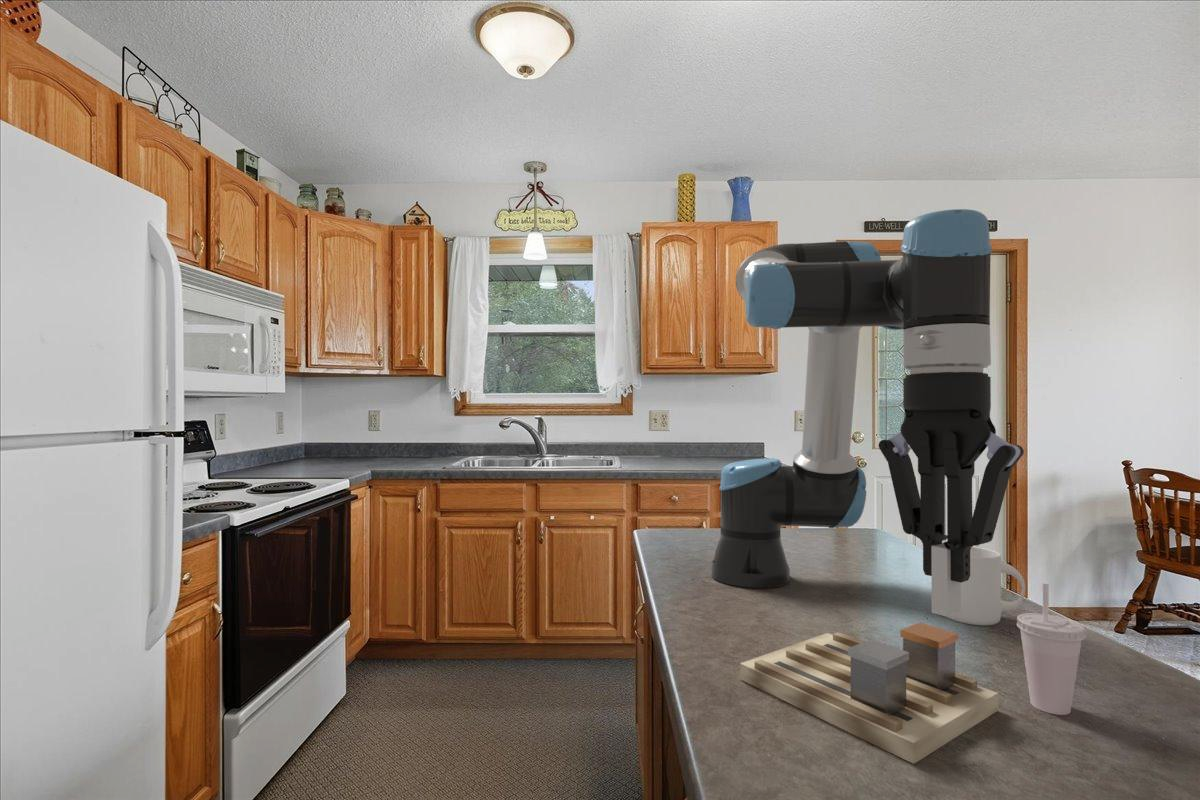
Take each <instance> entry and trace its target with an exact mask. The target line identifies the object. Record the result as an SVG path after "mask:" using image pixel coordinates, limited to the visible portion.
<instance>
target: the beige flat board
mask: <svg viewBox="0 0 1200 800" xmlns="http://www.w3.org/2000/svg"><path fill="white" fill-rule="evenodd" d="M863 642H866V641H865V640H862V639H858V638H856V637H854V636H850V635H848V634H844V633H841V632H835V633H833V634H831V633H828V632H826V633H823V634H821V635H817V636H813V637H811V638H809V639H806V640H803V641H800V642H797V643H793V644H791V645H789V646H785V647H783V648H780V649H777V650H774V651H772V652H768V653H766V654H763V655H760V656H757V657H754V658H751V659H748V660H746V661H743V662H740V663H739V680H741V681H742V682H744V683H747V684H749V685H751V686H753V687H755V688H757V689H758V690H762V691H763V692H765V693H767V694H769V695H771V696H774V697H775V698H777V699H779V700H781V701H784V702H786V703H788V704H790V705H792V706H794V707H796V708H798V709H800V710H802V711H804V712H806V713H808V714H809V715H810V714H811V715H812V716H815V717H817V718H818V719H821V720H823V721H825V722H827V723H829V724H830V725H832V726H835V727H837V728H839V729H841V730H844V731H845V732H848V733H849V734H851V735H854V736H856V737H857V738H859V739H862V740H864V741H866V742H868V743H869V744H872V745H874V746H877V747H879V748H880V749H883V750H884V751H886V752H888V753H891V754H893V755H894V756H897V757H899V758H901V759H903V760H905V761H907V762H909V763H911V764H912V765H913V764H917V762H919V761H922V759H924V758H926V757H927V756H928V755H930V754H932V753H933V752H935V751H937V750H939V749H940V748H942V747H943V746H944V745H946V744H948V743H949V742H951V741H952V740H954V739H955V738H957V737H959V736H960V735H963V734H964V733H965V732H967V731H968V730H970V729H972V728H973V727H974V726H976V725H978V724H979V723H981V722H982V721H984V720H985V719H987V718H989V717H991V716H992V715H993V714H995V713H997V712H999V692H996V691H993V690H991V689H988V688H985V687H983V686H980V685H978V680H977V679H975V678H972V677H969V676H966V675H963V674H960V673H958V672H955V684H954V685H952V686H950V687H948V688H946V689H944V690H939V689H936V688H934V687H931V686H928V685H926V684H923V683H920V682H918V681H915V680H912V679H910V678H907V677H906V707H905V708H903V709H901V710H899V711H897V712H895V713H893V714H891V715H888V714H885V713H883V712H881V711H878V710H876V709H874V708H871V707H869V706H867V705H865V704H862V703H860V702H858V701H855V700H853V699H851V657H850V656H848V648H850V647H853V646H855V645H858V644H860V643H863Z"/></svg>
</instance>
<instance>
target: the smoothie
mask: <svg viewBox="0 0 1200 800" xmlns="http://www.w3.org/2000/svg"><path fill="white" fill-rule="evenodd" d="M1049 586H1050V585H1049V584H1047V583H1042V613H1036V612H1029V613H1021V614H1018V615H1017V617H1016V627H1017V628H1018V629H1020V637H1021V644H1022V651H1023V660H1024V664H1025V672H1026V680H1027V688H1028V695H1029V699H1030V700H1029V701H1030V704H1031V706H1033V707H1034V708H1035V709H1037V710H1039V711H1041V712H1044V713H1047V714H1052V715H1057V716H1067V715H1069V714H1071V709H1072V705H1073V698H1074V692H1075V685H1076V681H1077V680H1076V679H1077V672H1078V668H1079V666H1078V665H1079V660H1080V655H1081V645H1082V641H1083V640H1085V639H1086V638H1087V636H1086V628H1085V626H1083V625H1082V624H1081V623H1079V622H1077V621H1075V620H1072V619H1069V618H1065V617H1062V616H1058V615H1053V614H1049V612H1050V611H1049V610H1050V609H1049V605H1050V603H1049V601H1050V599H1049V597H1050V595H1049V594H1050V593H1049V591H1050V589H1049V588H1050V587H1049Z"/></svg>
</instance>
